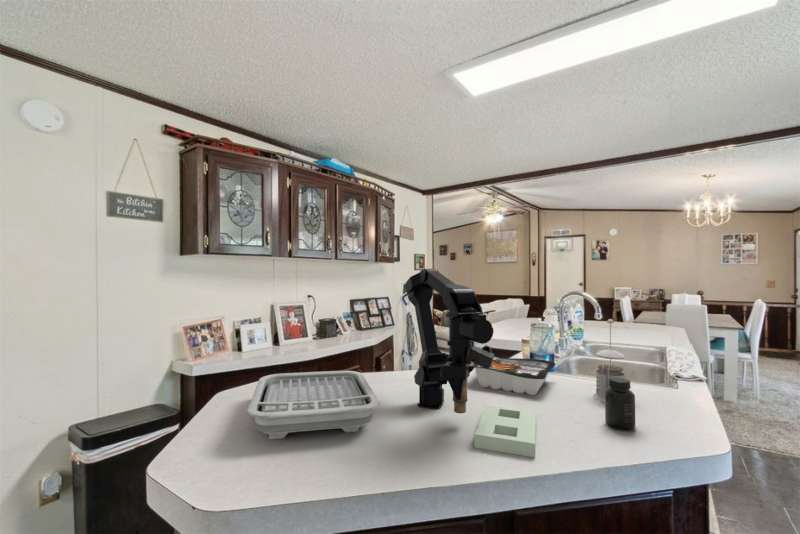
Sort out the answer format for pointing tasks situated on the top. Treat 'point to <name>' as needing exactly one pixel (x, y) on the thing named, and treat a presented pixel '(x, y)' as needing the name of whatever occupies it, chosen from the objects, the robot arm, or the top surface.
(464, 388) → the peg
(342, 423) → the dish rack
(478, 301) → the robot arm
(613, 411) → the supplement bottle
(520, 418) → the board
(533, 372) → the food packaging
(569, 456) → the top surface
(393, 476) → the top surface
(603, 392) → the french press
